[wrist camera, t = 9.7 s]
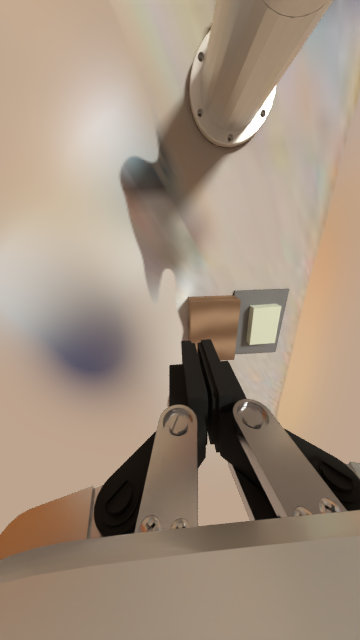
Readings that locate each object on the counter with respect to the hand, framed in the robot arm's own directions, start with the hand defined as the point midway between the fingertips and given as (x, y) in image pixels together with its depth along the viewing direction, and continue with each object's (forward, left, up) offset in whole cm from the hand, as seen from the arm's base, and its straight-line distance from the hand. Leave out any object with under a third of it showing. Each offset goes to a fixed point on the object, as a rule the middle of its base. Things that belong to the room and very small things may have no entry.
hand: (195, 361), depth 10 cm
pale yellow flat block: (+11, +19, -26) cm, 34 cm away
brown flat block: (+11, +8, -28) cm, 31 cm away
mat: (+11, +19, -28) cm, 36 cm away
